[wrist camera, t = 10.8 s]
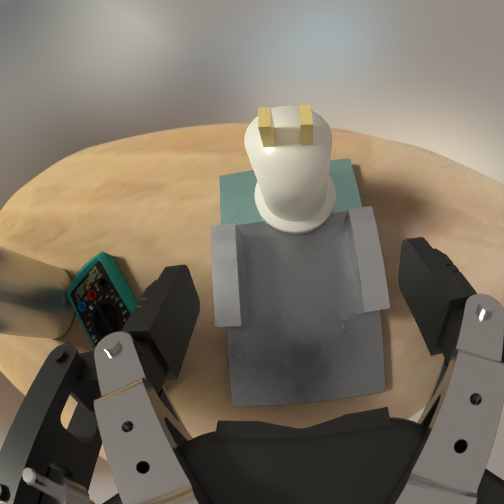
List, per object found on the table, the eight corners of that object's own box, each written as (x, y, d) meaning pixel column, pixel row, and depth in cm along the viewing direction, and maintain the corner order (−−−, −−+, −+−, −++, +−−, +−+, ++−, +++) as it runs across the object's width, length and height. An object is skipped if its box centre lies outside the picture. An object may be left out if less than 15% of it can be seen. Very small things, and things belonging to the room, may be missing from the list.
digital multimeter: (113, 251, 29) (96, 244, 26) (185, 362, 25) (171, 365, 22) (77, 292, 29) (60, 288, 26) (138, 399, 24) (122, 405, 22)
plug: (255, 235, 25) (218, 170, 15) (257, 165, 27) (229, 83, 16) (337, 233, 24) (356, 165, 13) (331, 163, 25) (337, 76, 15)
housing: (234, 402, 22) (221, 415, 19) (222, 180, 28) (210, 160, 24) (382, 388, 20) (395, 399, 16) (349, 164, 26) (353, 140, 22)
